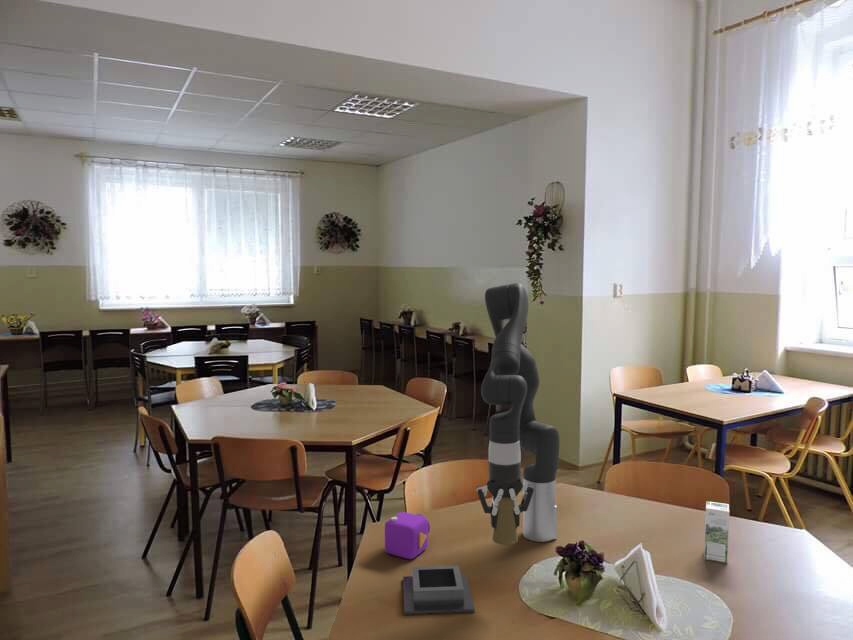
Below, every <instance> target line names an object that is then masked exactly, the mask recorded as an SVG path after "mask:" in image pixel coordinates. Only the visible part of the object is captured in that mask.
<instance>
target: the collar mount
mask: <svg viewBox="0 0 853 640" xmlns="http://www.w3.org/2000/svg"><path fill="white" fill-rule="evenodd" d="M467 575H468V574H463V573H462V574H461V570H460V565H439V566H438V565H435V566H434V565H433V566H429V565H428V566H412V567H411V575H410V576H409V575H408V576H402V583H403V585H402V587H403V611H404V613H403V614H404V616H406V615H407V616H408V615H412V616H413V614H414V615H429V614H428V613H440V614H460V613H459V612H462V614H463V612H464V613H475V611H476V610H475V605H474V601H473V597H472V592H471V587H470V584H469V580H468V576H467ZM455 612H456V613H455Z"/></svg>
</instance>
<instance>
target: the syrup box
mask: <svg viewBox="0 0 853 640" xmlns="http://www.w3.org/2000/svg"><path fill="white" fill-rule="evenodd" d="M704 517H705V519H704V522H705V523H704V546H703V547H704V548H703V559H704V560H705V561H711V562H717V563H723V564H728V557H729V555H728V554H729V534H730V533H729V531H730V504H729V503H723V502H722V503H721V502H716V501H708V500H707V501H705V516H704Z"/></svg>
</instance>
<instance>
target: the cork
mask: <svg viewBox="0 0 853 640" xmlns="http://www.w3.org/2000/svg"><path fill="white" fill-rule="evenodd" d="M494 501H495V499H494ZM497 502H498V501H497ZM514 508H515V503H514V501H513V500H512V499H511V497H502V498H501V500H500V501H499V503H498V506H497V509H498V511H497V515H498V519H497V526H496V530H494V529H493V533H492V541H493V543H495V544H497V545H502V546H512V545H515V544H516V543H518V541H519V539H518V537H519V536H518V528H517V529H516V526H515V519H514Z"/></svg>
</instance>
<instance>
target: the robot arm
mask: <svg viewBox="0 0 853 640" xmlns="http://www.w3.org/2000/svg"><path fill="white" fill-rule="evenodd" d="M484 303H485V306H486V307H485V308H486V310H487V314H488V318H489V320H490V324H491V327H492V330H493V333H494V334H493V335H494V336H495V339H494V341H493V344H492V347H491V361H490V365H489V367H488V370H487V372H486V374H485V376H484V378H483V380H482V383H481V388H480V394H481V398H482V400H483V401H484V402H485V403H486V404H488V405H492V406H495V405H496V406H511V407H510V408H509V410H507V411H504V412H500V413H495V414H493V415H491V416H490V417H489V421H488V422H489V423H488V425H489V444H488V480H487V482H486V484H485V485H484V486H477V487H476V488H475V489H476V492H477V493H476V494H477V495H478V499H479V502H480V504H481V506H482V507H481V508H482V509H483V512H484V513H485V514H490V525H491V528H492V529H493V531H494V530H496V526H497V519H498V515H497V511H498V509H497V506H498V503H499V501H500V500H501V498H502V497H511V499H512V500H513V501H514V503H515V508H514V519H515V526H516V529H517V530H518V527H519V526H520V524H521V523H520V519H521V518H520V515H521V513H522V536H523V537H524V538H525V539H526V540H529V541H533V542H537V543H539V542H540V543H545V542H550V541H554V540H557V539H558V506H557V504H556V487H557V486H556V483H557V482H556V481H557V480H556V477H557V476H556V474H557V471H558V469H559V459H560V444H561V443H560V442H561V441H560V440H561V439H560V434H559V431H558V429H557V428H556V427H555V426H553V425H550V424H546V423H542V422H538V420H537V417H536V415H535V411H534V400H535V397H536V395H537V393H538V390H539V385H540V376H539V371H538V366H537V363H536V359H535V357H534V355H533V354H532V353H531V351H529V350H528V349H527V348H526V346H524V345H523V343H522V339H523V335H524V331H525V328H526V327H525V326H526V324H527V318H528V313H529V297H528V293H527V289H526V288H525V286H524V285H523V284H521V283H509V284H503V285H498V286H494V287H493V286H492V287H490V288H487V289H486V290H485V293H484ZM505 320H508V322H507V323H506V321H505ZM521 449H522V450H523V451H524V452H526V453H529V454H531V455H535V463H531V464H530V463H529V464H528V465H526V466H524V468H523V472H522V471H521V464H522V463H521V459H522V455H521V454H522V453H521ZM521 472H522V473H523V477H522V476H521V474H522V473H521ZM521 477H522V478H523V479H522V480H521ZM522 481H523V482H522ZM521 491H522V495H523V496H522V497H521V501H520V504H519V503H518V500H517V496H518V495H519V494H520V492H521ZM487 492H489V493H490V494H491V495H492V498H491V505H488V503H487V500H486V498H485V497H486V496H487V495H488V494H487ZM494 499H495V501H494ZM497 501H498V502H497Z"/></svg>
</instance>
